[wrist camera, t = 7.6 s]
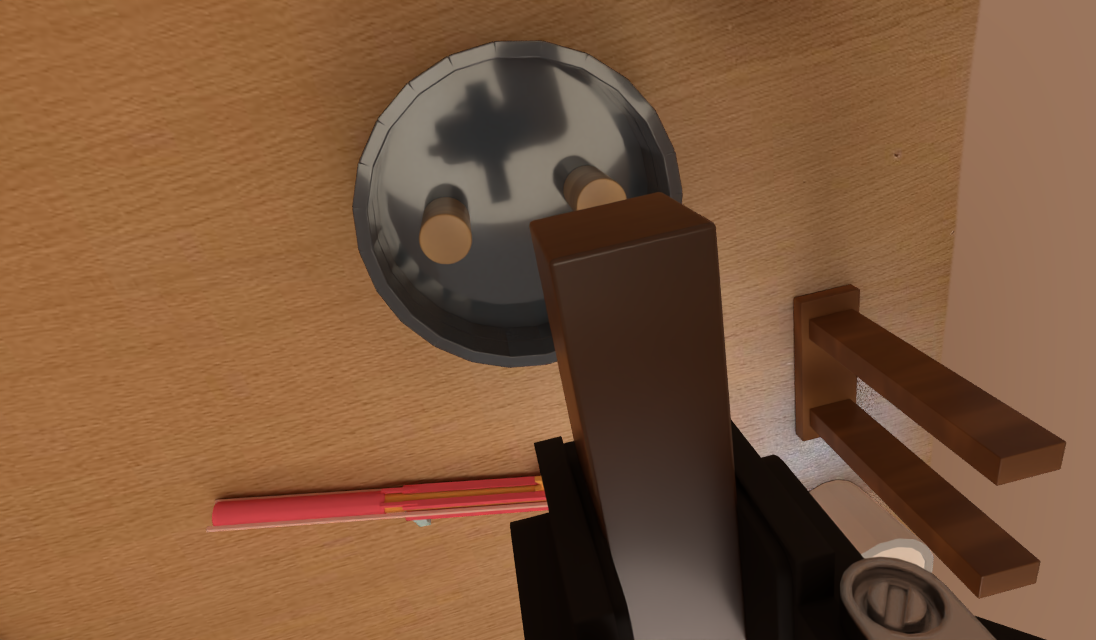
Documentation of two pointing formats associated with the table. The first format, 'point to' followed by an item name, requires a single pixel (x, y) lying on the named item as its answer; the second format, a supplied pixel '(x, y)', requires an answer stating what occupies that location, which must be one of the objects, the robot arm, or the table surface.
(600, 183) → the cork
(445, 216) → the cork
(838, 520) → the beige cylinder
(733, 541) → the dark brown bar
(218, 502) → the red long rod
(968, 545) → the rest
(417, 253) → the bowl
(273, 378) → the table surface
